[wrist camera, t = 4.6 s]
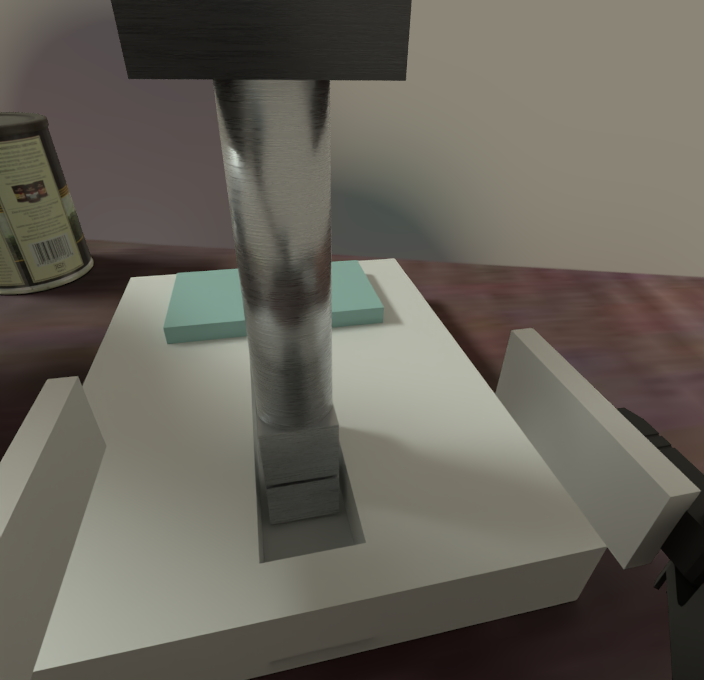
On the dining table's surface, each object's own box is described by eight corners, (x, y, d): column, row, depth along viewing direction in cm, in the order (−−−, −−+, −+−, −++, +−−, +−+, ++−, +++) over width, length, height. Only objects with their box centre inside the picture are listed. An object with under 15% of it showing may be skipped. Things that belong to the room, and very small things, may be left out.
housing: (3, 738, 15) (-54, 690, 13) (143, 320, 38) (130, 277, 36) (576, 600, 19) (607, 546, 17) (391, 298, 42) (394, 258, 40)
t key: (228, 532, 20) (100, -31, 9) (229, 476, 23) (129, -15, 12) (377, 505, 21) (417, -16, 11) (362, 455, 24) (381, -4, 13)
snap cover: (167, 344, 28) (163, 327, 27) (180, 287, 34) (177, 272, 34) (382, 322, 30) (383, 307, 30) (356, 273, 37) (357, 260, 36)
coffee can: (26, 250, 50) (-32, 110, 42) (113, 255, 49) (71, 113, 42) (-53, 292, 41) (-143, 126, 34) (51, 299, 41) (-16, 130, 33)
